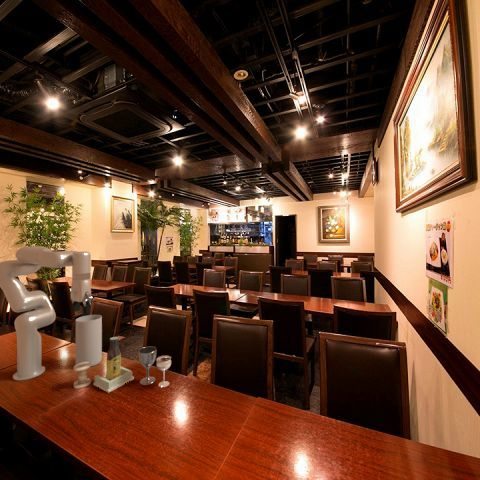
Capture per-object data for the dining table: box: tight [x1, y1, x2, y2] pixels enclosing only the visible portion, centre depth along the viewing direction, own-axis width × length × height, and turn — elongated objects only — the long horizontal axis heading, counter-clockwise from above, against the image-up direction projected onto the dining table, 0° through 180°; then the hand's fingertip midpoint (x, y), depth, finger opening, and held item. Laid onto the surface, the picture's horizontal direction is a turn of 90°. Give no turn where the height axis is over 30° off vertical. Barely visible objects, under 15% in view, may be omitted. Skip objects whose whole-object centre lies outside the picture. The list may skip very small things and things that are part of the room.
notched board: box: [93, 366, 135, 394], centre depth 121 cm, size 12×13×4 cm
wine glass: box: [138, 345, 157, 386], centre depth 122 cm, size 8×8×15 cm
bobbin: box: [73, 362, 92, 389], centre depth 119 cm, size 7×7×9 cm
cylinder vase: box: [75, 314, 103, 368], centre depth 140 cm, size 12×12×25 cm
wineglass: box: [155, 355, 172, 388], centre depth 119 cm, size 7×7×12 cm
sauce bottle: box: [105, 336, 122, 381], centre depth 121 cm, size 7×6×20 cm
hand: (81, 312), depth 121 cm, fingers open, 9 cm apart
